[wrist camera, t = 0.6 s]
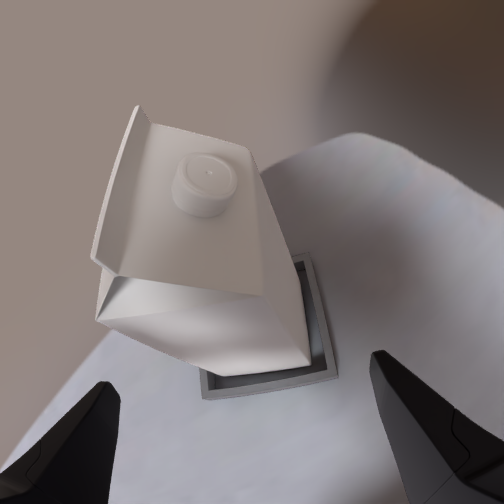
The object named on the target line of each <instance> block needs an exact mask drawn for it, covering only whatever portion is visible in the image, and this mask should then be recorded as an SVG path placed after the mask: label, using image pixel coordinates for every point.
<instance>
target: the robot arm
mask: <svg viewBox="0 0 504 504" xmlns="http://www.w3.org/2000/svg"><path fill="white" fill-rule="evenodd" d="M370 377H371V381H372V385H373V389H374V393H375V397H376V402H377V406H378V410H379V414H380V417H381V420H382V423H383V425H384V428H385V431H386V434H387V437H388V440H389V442H390V445H391V448H392V451H393V454H394V457H395V460H396V463H397V466H398V469H399V472H400V475H401V478H402V481H403V484H404V487H405V491H406V494H407V497H408V500H409V503H410V504H504V441H502V440H501V439H499V438H498V437H496V436H494V435H493V434H491V433H489V432H488V431H486V430H485V429H483V428H482V427H480V426H479V425H477V424H476V423H474V422H473V421H472V420H470V419H469V418H468V417H466V416H465V415H464V414H462V413H461V412H460V411H459V410H458V409H456V408H455V409H454V406H453V405H451V404H450V403H449V402H448V401H446V400H445V399H444V398H443V397H442V396H440V395H439V394H438V393H437V392H435V391H434V390H433V389H432V388H431V387H429V386H428V385H427V384H426V383H424V382H423V381H422V380H421V379H419V378H418V377H417V376H416V375H415V374H413V373H412V372H411V371H410V370H408V369H407V368H406V367H405V366H403V365H402V364H401V363H400V362H399V361H397V360H396V359H395V358H394V357H392V356H391V355H390V354H389V353H387V352H386V351H385V350H379V351H375V352H372V354H371V360H370ZM120 403H121V400H120V396H119V394H118V393H117V391H116V390H115V388H114V387H113V385H112V384H111V383H110V382H108V381H101V382H98V383H97V384H96V385H95V386H94V387H93V388H92V389H91V390H90V391H89V392H88V393H87V394H86V395H85V396H84V397H83V398H82V399H81V400H80V401H79V402H78V403H77V404H76V405H74V406H73V407H72V408H71V409H70V410H69V411H68V412H67V413H66V414H65V415H64V416H63V417H62V418H61V419H60V420H59V421H58V422H57V423H56V424H55V425H54V426H53V427H52V428H51V429H50V430H49V431H48V432H47V433H46V434H45V435H44V436H43V437H42V438H41V439H40V440H39V441H38V442H37V443H36V444H35V445H34V446H32V447H31V448H30V449H29V450H28V451H27V452H26V453H25V454H24V455H23V456H21V457H20V458H19V459H18V460H17V461H15V462H14V463H13V464H12V465H10V466H9V467H8V468H7V469H5V470H4V471H3V472H2V473H0V504H108V499H109V491H110V484H111V476H112V469H113V463H114V457H115V450H116V444H117V438H118V428H119V415H120Z"/></svg>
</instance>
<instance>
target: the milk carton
mask: <svg viewBox="0 0 504 504" xmlns="http://www.w3.org/2000/svg"><path fill="white" fill-rule="evenodd" d="M90 258H91V259H92V260H93V261H95V262H96V263H97V264H99V265H100V266H101V267H102V275H101V280H100V287H99V294H98V301H97V309H96V318H95V320H96V321H98V322H100V323H102V324H104V325H106V326H108V327H110V328H112V329H114V330H116V331H118V332H120V333H122V334H124V335H126V336H128V337H130V338H132V339H134V340H137V341H139V342H141V343H143V344H145V345H147V346H150V347H152V348H154V349H156V350H159V351H161V352H163V353H166V354H168V355H170V356H173V357H175V358H177V359H180V360H182V361H185V362H187V363H190V364H192V365H195V366H197V367H200V368H202V369H205V370H207V371H210V372H213V373H215V374H218V375H221V376H235V375H245V374H254V373H263V372H271V371H279V370H286V369H293V368H300V367H306V366H311V364H312V363H311V353H310V345H309V338H308V330H307V323H306V316H305V309H304V302H303V295H302V288H301V283H300V280H299V278H298V275H297V272H296V269H295V267H294V264H293V261H292V258H291V256H290V253H289V250H288V247H287V245H286V242H285V239H284V237H283V234H282V231H281V229H280V226H279V223H278V221H277V218H276V215H275V213H274V210H273V207H272V205H271V202H270V200H269V197H268V194H267V192H266V189H265V187H264V184H263V181H262V179H261V176H260V174H259V171H258V169H257V166H256V164H255V161H254V159H253V156H252V154H251V152H250V151H249V149H248V148H247V147H244V146H241V145H238V144H234V143H230V142H227V141H224V140H220V139H216V138H212V137H208V136H205V135H201V134H197V133H193V132H189V131H185V130H181V129H177V128H173V127H168V126H164V125H159V124H155V123H151V122H150V121H149V119H148V117H147V116H146V114H145V113H144V111H143V110H142V108H141V106H140V105H138V106H135V108H134V111H133V113H132V116H131V119H130V121H129V124H128V127H127V129H126V132H125V135H124V137H123V141H122V143H121V146H120V149H119V152H118V155H117V158H116V161H115V164H114V167H113V170H112V174H111V177H110V180H109V184H108V187H107V191H106V194H105V198H104V201H103V205H102V209H101V213H100V216H99V220H98V225H97V228H96V233H95V237H94V241H93V246H92V251H91V255H90Z"/></svg>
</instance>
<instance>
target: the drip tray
mask: <svg viewBox="0 0 504 504" xmlns="http://www.w3.org/2000/svg"><path fill="white" fill-rule="evenodd" d="M291 258H292V261H293V264H294V267H295V269H296V271H298V270H302V269H306V272H307V277H308V281H309V285H310V289H311V294H312V298H313V303H314V307H315V312H316V316H317V321H318V325H319V330H320V335H321V339H322V344H323V349H324V354H325V359H326V364H327V369H328V370H324V371H320V372H315V373H311V374H306V375H302V376H297V377H292V378H287V379H282V380H276V381H271V382H265V383H259V384H253V385H247V386H240V387H233V388H226V389H218V390H216V388H215V378H214V373H213V372H210V371H207V370H205V369H202V368H200V367H199V371H200V382H201V393H202V399H205V400H217V399H225V398H233V397H241V396H248V395H254V394H261V393H267V392H273V391H279V390H284V389H289V388H295V387H300V386H305V385H309V384H314V383H319V382H323V381H327V380H332V379H336V378H338V375H337V370H336V365H335V361H334V356H333V351H332V346H331V342H330V337H329V333H328V328H327V324H326V319H325V315H324V311H323V306H322V302H321V298H320V294H319V289H318V285H317V281H316V277H315V273H314V269H313V265H312V261H311V257H310V253H309V252H308V253H304V254H300V255H296V256H293V257H291Z"/></svg>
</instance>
